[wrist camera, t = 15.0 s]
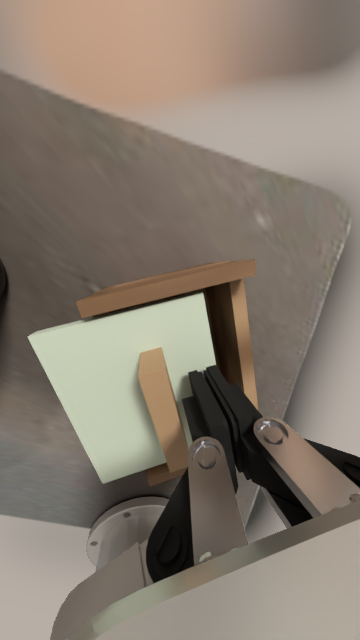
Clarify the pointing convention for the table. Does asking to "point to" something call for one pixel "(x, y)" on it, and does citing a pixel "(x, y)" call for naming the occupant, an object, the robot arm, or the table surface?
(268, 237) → the table surface
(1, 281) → the supplement bottle
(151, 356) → the lid
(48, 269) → the table surface
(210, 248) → the table surface
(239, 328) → the brown wooden box
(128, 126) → the table surface
